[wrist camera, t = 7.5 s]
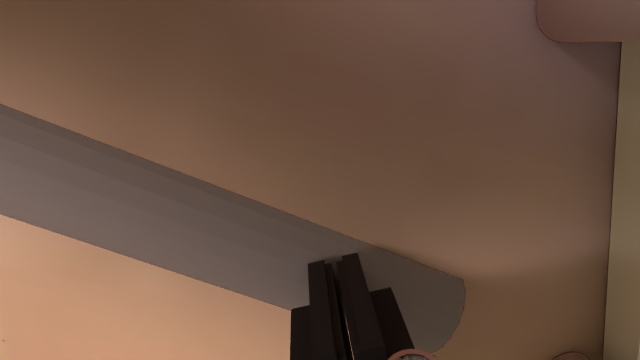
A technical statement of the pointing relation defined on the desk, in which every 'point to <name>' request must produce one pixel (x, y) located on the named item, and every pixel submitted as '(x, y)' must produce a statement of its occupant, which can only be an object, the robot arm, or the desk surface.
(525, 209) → the desk surface
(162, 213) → the half round rod
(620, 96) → the peg rack
